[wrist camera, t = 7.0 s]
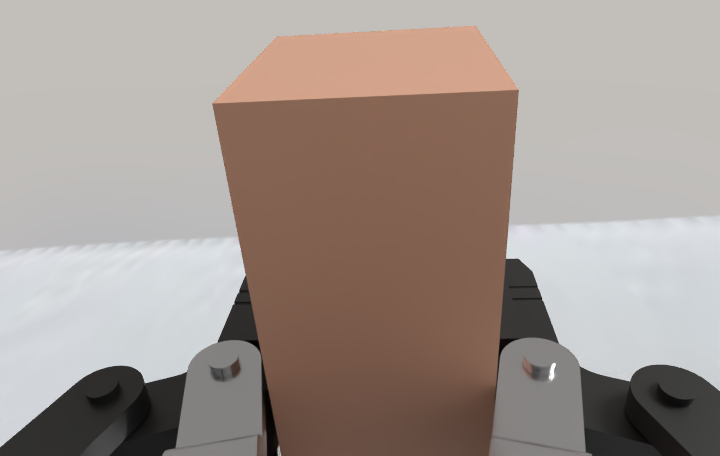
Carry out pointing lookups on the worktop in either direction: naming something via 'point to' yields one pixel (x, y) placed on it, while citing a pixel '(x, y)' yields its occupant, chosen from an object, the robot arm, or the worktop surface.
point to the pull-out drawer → (375, 235)
